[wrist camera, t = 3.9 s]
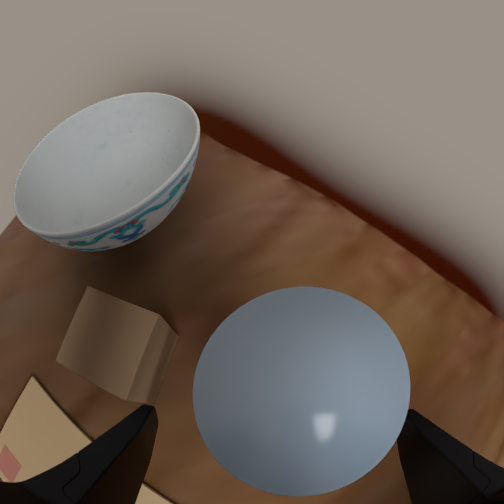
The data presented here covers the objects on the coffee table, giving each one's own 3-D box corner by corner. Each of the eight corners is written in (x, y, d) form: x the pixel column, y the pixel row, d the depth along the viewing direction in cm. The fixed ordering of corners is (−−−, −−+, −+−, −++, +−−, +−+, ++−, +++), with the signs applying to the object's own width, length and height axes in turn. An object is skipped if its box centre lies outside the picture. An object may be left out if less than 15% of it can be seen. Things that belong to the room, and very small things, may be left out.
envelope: (200, 519, 12) (200, 520, 12) (129, 590, 7) (128, 591, 7) (34, 376, 16) (31, 376, 16) (-11, 459, 11) (-13, 459, 11)
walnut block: (179, 337, 19) (159, 314, 14) (154, 403, 16) (126, 400, 12) (118, 313, 19) (88, 285, 15) (94, 374, 17) (55, 360, 13)
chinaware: (134, 327, 19) (82, 281, 12) (34, 239, 22) (-8, 188, 16) (243, 185, 26) (242, 112, 19) (129, 141, 29) (111, 84, 22)
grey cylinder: (318, 387, 17) (435, 341, 6) (280, 449, 15) (346, 522, 4) (254, 352, 18) (268, 252, 7) (214, 412, 16) (149, 423, 5)
